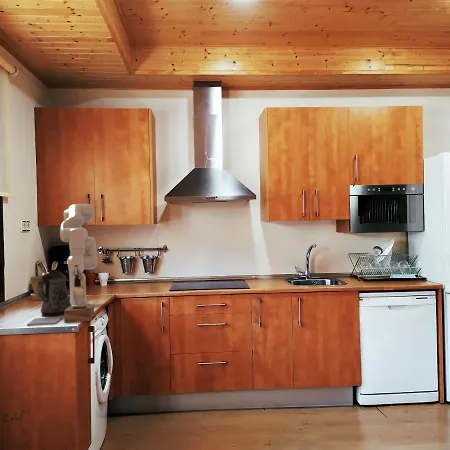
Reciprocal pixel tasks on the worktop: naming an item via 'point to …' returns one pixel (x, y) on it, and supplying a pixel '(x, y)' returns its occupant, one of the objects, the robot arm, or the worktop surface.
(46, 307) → the beer stein
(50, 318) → the slate mat
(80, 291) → the maple plug
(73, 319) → the walnut holder
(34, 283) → the plant pot
